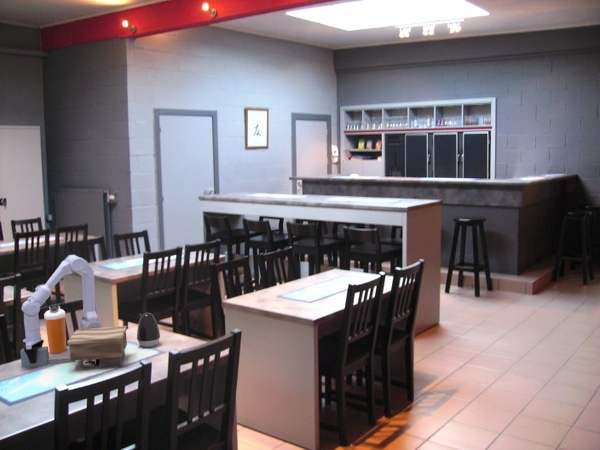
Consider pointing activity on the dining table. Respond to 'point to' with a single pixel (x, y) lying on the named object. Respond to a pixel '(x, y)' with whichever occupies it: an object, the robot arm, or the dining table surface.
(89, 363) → the steel token
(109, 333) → the cabinet
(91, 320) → the robot arm
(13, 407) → the dining table surface
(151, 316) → the black egg-shaped piece
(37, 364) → the grey block with tab
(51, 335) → the shaker bottle
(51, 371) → the dining table surface
